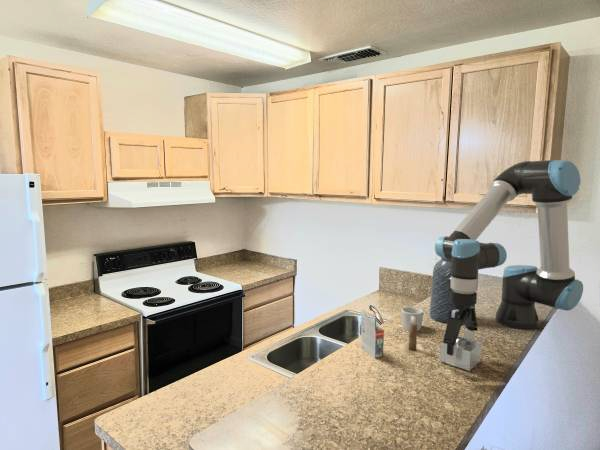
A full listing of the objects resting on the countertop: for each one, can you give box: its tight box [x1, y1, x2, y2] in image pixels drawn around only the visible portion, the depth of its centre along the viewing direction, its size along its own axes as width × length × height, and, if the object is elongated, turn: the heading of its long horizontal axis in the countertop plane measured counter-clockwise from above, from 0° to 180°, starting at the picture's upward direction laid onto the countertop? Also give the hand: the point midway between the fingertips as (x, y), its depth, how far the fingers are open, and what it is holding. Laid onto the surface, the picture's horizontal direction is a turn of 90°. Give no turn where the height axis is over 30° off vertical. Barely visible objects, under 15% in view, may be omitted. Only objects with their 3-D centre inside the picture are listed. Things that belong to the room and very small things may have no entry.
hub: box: [454, 336, 466, 369], centre depth 118 cm, size 8×8×8 cm
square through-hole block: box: [439, 334, 483, 372], centre depth 118 cm, size 9×9×6 cm
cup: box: [401, 306, 424, 332], centre depth 144 cm, size 11×8×8 cm
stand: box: [397, 323, 429, 356], centre depth 127 cm, size 8×8×10 cm
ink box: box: [360, 309, 385, 359], centre depth 124 cm, size 4×8×15 cm, turn 26°
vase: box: [429, 257, 455, 324], centre depth 157 cm, size 12×12×28 cm
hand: (459, 356), depth 118 cm, fingers open, 13 cm apart
